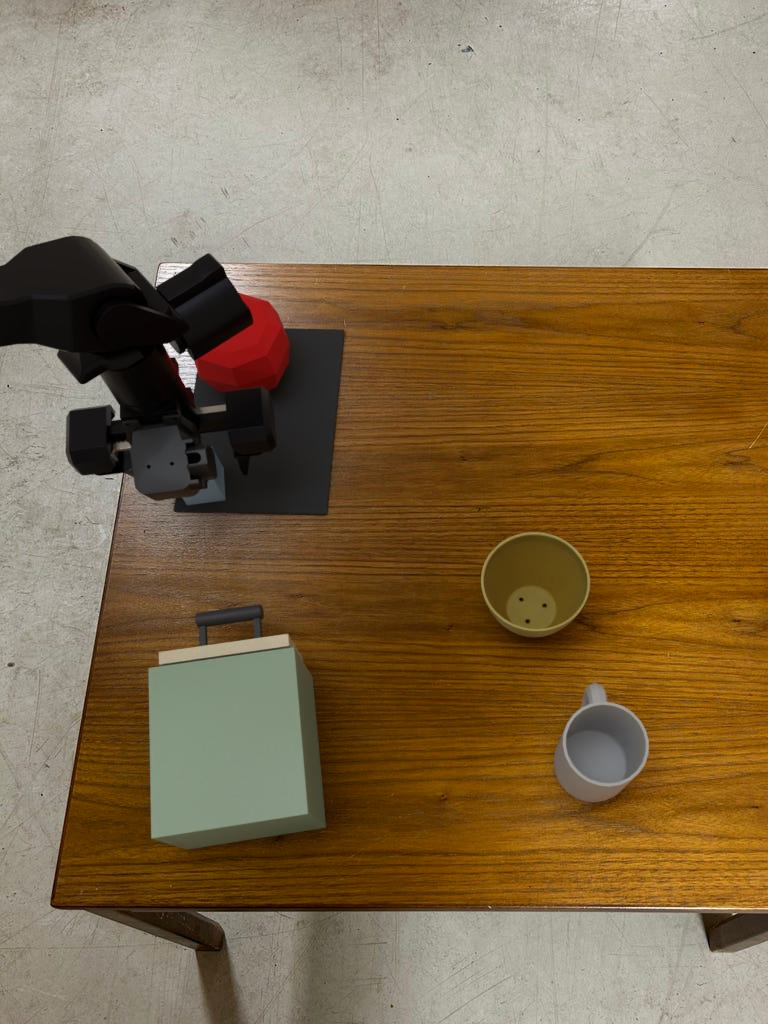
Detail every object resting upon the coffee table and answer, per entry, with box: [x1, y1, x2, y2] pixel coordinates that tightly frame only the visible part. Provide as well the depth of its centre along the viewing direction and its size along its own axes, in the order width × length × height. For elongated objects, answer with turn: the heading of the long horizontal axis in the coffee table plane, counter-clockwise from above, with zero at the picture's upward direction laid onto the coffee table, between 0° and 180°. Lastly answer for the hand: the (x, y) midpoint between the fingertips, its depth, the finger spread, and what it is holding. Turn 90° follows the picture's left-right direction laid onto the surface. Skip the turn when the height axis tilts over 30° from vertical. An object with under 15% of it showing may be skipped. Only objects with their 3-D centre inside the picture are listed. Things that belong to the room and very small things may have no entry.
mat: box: [173, 327, 345, 516], centre depth 88 cm, size 16×24×1 cm, turn 179°
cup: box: [553, 682, 650, 803], centre depth 72 cm, size 7×10×9 cm
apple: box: [193, 292, 289, 393], centre depth 85 cm, size 11×11×10 cm
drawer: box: [158, 604, 304, 666], centre depth 73 cm, size 18×11×7 cm, turn 9°
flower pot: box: [480, 531, 591, 638], centre depth 77 cm, size 10×10×7 cm
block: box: [182, 447, 225, 505], centre depth 83 cm, size 4×4×4 cm
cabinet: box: [147, 647, 327, 851], centre depth 71 cm, size 15×13×9 cm
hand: (201, 477), depth 83 cm, fingers open, 9 cm apart
